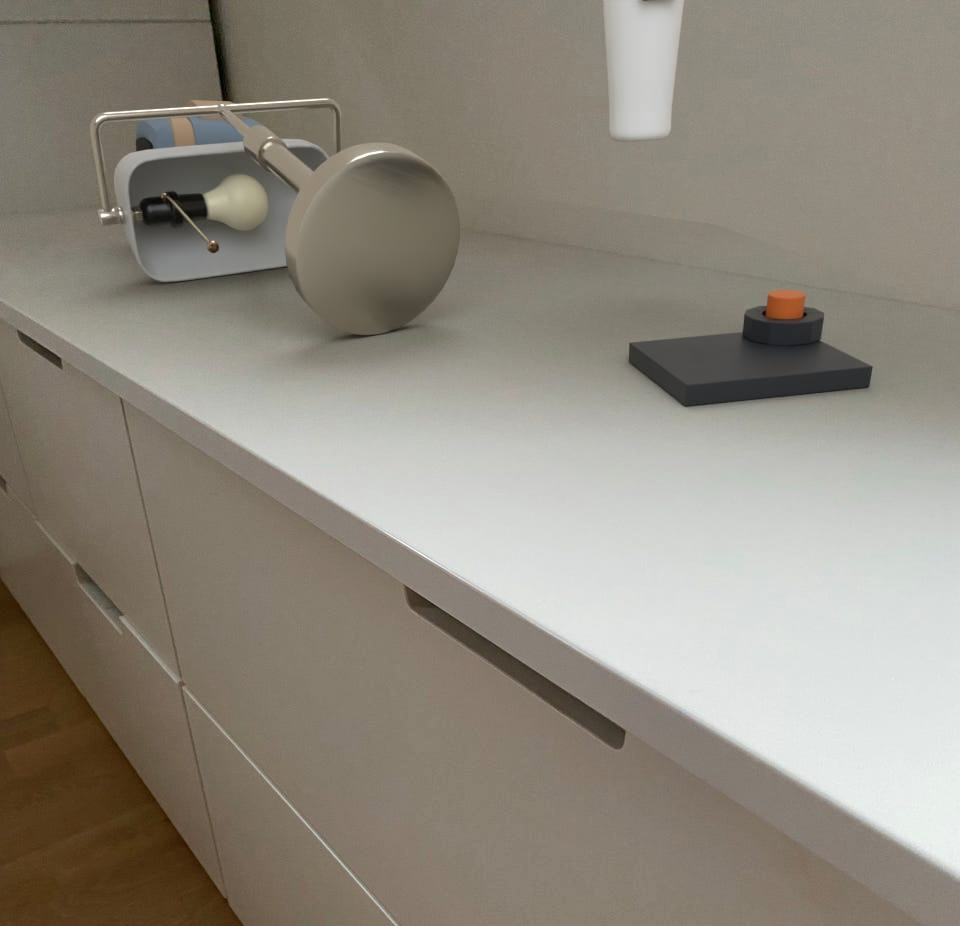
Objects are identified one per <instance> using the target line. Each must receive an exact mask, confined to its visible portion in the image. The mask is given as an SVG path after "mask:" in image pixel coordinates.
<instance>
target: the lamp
mask: <svg viewBox="0 0 960 926" xmlns="http://www.w3.org/2000/svg"><path fill="white" fill-rule="evenodd" d="M312 109H330V110H331V112H332V154H333V155H331V156H329V154H327V152H326V150H324V149H322V147H320V146H318V145H317V144H315V143H312V142H311V141H308V140H304V139H302V138H301V139H300V138H280V137H279V136H278V135H277V134H275V133H274V132H273V131H272V130H271V129H270V128H268V127H267V126H265V125H264V124H262V125H255V126H252V127H248V126H247V125H246V124H245V123H244V122H243V121H241V120H240V119H239V118H238V117H237V116H236V115H234V114H242V115H243V114H256V113H270V112H271V113H272V112H284V111H298V110H299V111H300V110H312ZM213 115H217V116H218V117H220V118H223V119H224V120H225V121H226V122H228V123H229V124H230V125H231V126H232V127H233V128H234V129H236V130H237V131H238V132H239V133H240V134H241V135H242V136H244V137H243V142H231V143H218V144H206V145H193V146H180V147H170V148H159V149H149V150H142V151H137V152H136V151H133V152H129V153H128V154H126V155H125V156H123V157H122V158H121V159H120V160H119V161H118V163H117V165H116V167H115V169H114V173H113V187H114V188H113V189H114V194H115V199H116V204H117V206H116V207H113V204H112V197H111V191H110V186H109V185H110V184H109V179H108V173H107V172H108V171H107V165H106V160H105V154H104V147H103V141H102V135H101V128H102V126H103V125H104V124H108V123H109V124H111V123H124V122H139V121H140V120H155V119H169V118H184V117H198V116H213ZM263 125H264V126H263ZM89 134H90V140H91V145H92V151H93V158H94V163H95V171H96V175H97V181H98V187H99V188H98V189H99V194H100V200H101V205H102V208H99V209H97V218H98V221H99V224H100V225H101V227H106V226H107V227H108V226H115V225H116V226H117V225H120V226H122V229H123V233H124V235H125V237H126V241H127V243H128V245H129V248H130V250H131V252H132V254H133V256H134V259H135V261H136V262H137V264H138V265H139V268H140V269H141V271H142V272H143V273H144V274H145V275H146V276H147V277H149V278H150V279H152V280H153V281H156V282H159V283H177V282H185V281H193V280H200V279H201V280H202V279H209V278H216V277H223V276H231V275H238V274H245V273H252V272H259V271H267V270H273V269H280V268H287V271H288V274H289V278H290V280H291V282H292V284H293V286H294V289H295V290H296V292H297V293H298V294H299V297H300V298H301V299H302V300H303V302H304V303H305V304H306V305H307V306H308V307H309V308H310V309H311V310H312V311H313V312H314V313H315V314H316V315H317V316H318V317H319V318H320V319H321V320H322V321H323V322H325V323H326V324H328V325H329V326H331V327H332V328H335V329H337V330H339V331H341V332H344V333H348V334H351V335H358V336H359V335H360V336H372V335H373V336H374V335H380V334H384V333H388V332H392V331H394V330H397V329H399V328H401V327H403V326H406V325H407V324H409V323H410V322H412V321H413V320H415V319H416V318H417V317H418V316H419V315H421V314H422V313H424V312H425V311H426V310H427V308H429V306H430V305H432V303H434V301H435V300H436V299H437V297H438V296H439V295H440V293H441V292H442V291H443V289H444V288H445V285H446V283H447V282H448V280H449V278H450V276H451V273H452V271H453V269H454V266H455V263H456V260H457V256H458V252H459V246H460V240H461V222H460V213H459V209H458V206H457V205H458V204H457V202H456V198H455V196H454V194H453V192H452V190H451V188H450V185H449V183H448V182H447V181H446V180H445V178H444V176H443V175H442V174H441V173H440V172H439V171H438V170H437V169H436V168H435V167H434V166H433V165H431V163H429V162H427V161H426V160H425V159H423V158H422V157H420V156H419V155H417V154H416V153H415V152H413V151H411V150H410V149H408V148H405V147H403V146H400V145H398V144H394V143H390V142H384V141H383V142H381V141H380V142H376V141H375V142H372V141H371V142H365V143H360V144H355V145H352V146H350V147H346V148H344V149H343V147H342V143H343V142H342V137H343V136H342V110H341V107H340V104H339V103H338V102H337V101H336V100H334V99H332V98H329V97H321V98H320V97H318V98H304V99H303V98H302V99H301V98H300V99H287V100H286V99H285V100H273V101H271V100H269V101H257V102H256V101H254V102H241V103H235V104H222V103H221V104H218V105H207V106H192V107H184V106H179V107H163V108H162V107H161V108H146V109H145V108H144V109H131V110H130V109H129V110H115V111H103V112H101V113H100V112H99V113H98V114H96V115H94V117H93V118H92V120H91V122H90V125H89Z"/></svg>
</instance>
